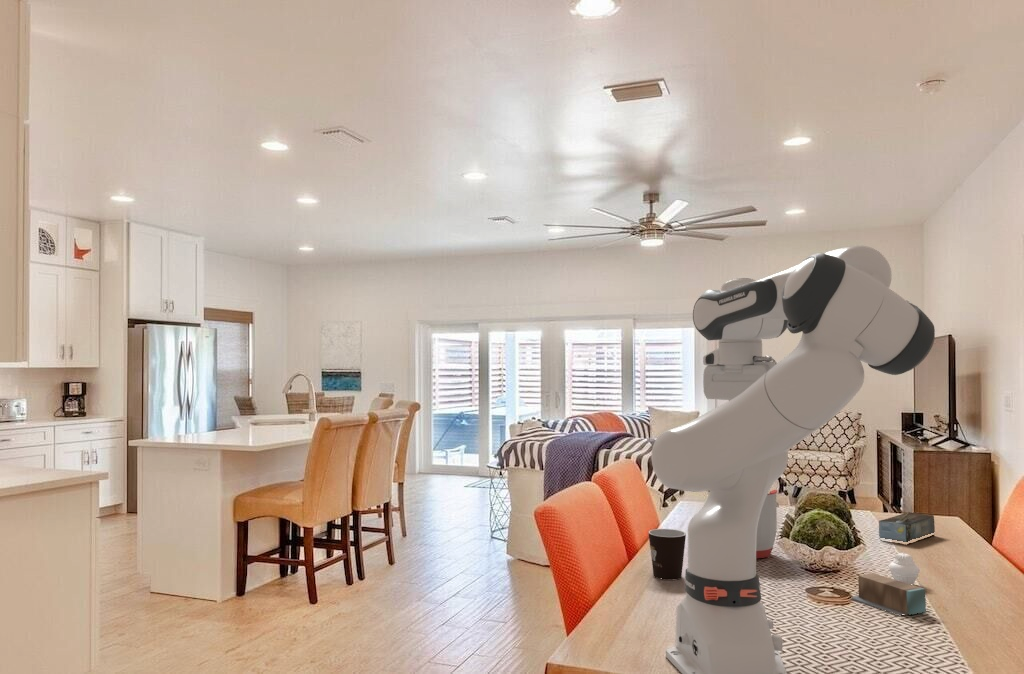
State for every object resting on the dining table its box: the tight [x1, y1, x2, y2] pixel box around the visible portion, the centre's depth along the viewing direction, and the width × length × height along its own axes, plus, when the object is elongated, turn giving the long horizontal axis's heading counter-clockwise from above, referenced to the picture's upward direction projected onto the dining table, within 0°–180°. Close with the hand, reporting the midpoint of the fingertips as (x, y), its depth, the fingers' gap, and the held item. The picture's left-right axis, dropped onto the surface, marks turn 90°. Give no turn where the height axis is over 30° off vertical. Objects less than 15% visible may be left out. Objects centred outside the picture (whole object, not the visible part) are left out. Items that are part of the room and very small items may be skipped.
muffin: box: [888, 552, 920, 585], centre depth 164 cm, size 6×6×7 cm
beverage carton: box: [878, 511, 936, 542], centre depth 209 cm, size 8×19×7 cm, turn 128°
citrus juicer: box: [756, 489, 780, 559], centre depth 191 cm, size 16×17×20 cm
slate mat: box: [850, 595, 906, 615], centre depth 150 cm, size 12×8×1 cm, turn 23°
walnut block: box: [857, 573, 927, 616], centre depth 149 cm, size 4×4×12 cm
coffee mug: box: [648, 528, 687, 580], centre depth 172 cm, size 12×9×10 cm
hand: (741, 422), depth 153 cm, fingers closed
